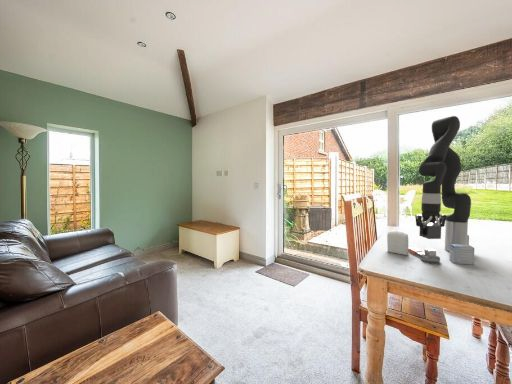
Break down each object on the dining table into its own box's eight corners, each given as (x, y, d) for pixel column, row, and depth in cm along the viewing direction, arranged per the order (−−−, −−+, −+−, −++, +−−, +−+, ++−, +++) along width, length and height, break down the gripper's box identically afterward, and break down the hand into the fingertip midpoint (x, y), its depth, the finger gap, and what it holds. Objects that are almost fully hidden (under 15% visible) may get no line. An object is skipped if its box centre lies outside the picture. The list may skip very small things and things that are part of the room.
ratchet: (416, 251, 124) (416, 241, 124) (444, 263, 106) (444, 251, 106) (403, 251, 124) (403, 241, 124) (428, 264, 106) (428, 252, 106)
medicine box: (468, 261, 108) (469, 244, 107) (474, 265, 103) (474, 247, 103) (449, 260, 110) (449, 243, 110) (453, 263, 106) (454, 246, 105)
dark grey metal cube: (431, 235, 112) (431, 223, 112) (440, 238, 106) (441, 225, 106) (419, 235, 112) (419, 223, 112) (428, 238, 106) (429, 226, 106)
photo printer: (386, 251, 125) (386, 230, 124) (388, 249, 128) (389, 229, 127) (406, 256, 117) (407, 233, 116) (409, 254, 120) (409, 232, 119)
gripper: (439, 201, 112) (437, 232, 113) (411, 201, 112) (410, 233, 113) (452, 202, 104) (450, 236, 105) (422, 203, 104) (421, 237, 105)
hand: (429, 234), depth 109 cm, fingers closed on dark grey metal cube, 6 cm apart
